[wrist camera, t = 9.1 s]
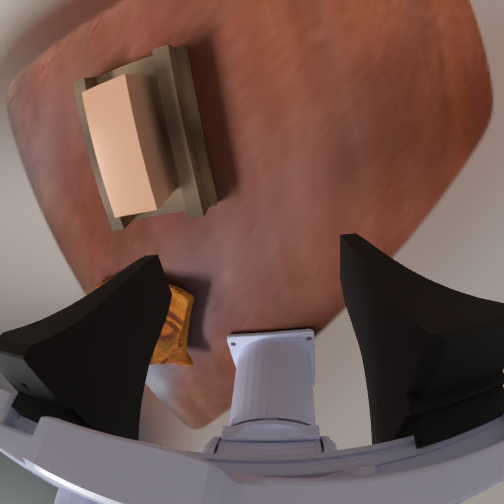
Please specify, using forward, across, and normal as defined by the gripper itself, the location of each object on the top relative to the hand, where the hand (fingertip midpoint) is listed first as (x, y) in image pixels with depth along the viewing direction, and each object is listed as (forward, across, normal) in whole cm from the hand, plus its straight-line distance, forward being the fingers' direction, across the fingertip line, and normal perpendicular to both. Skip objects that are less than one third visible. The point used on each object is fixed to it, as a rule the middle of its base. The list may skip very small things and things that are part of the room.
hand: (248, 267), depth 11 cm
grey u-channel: (+9, +7, -5) cm, 13 cm away
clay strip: (+9, +7, -5) cm, 12 cm away
